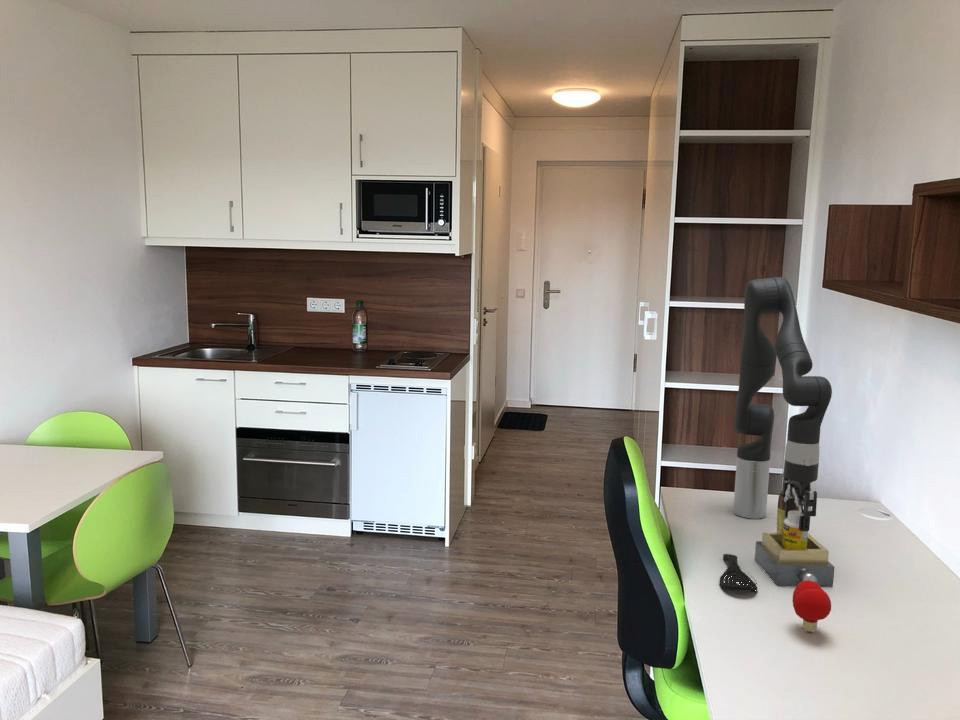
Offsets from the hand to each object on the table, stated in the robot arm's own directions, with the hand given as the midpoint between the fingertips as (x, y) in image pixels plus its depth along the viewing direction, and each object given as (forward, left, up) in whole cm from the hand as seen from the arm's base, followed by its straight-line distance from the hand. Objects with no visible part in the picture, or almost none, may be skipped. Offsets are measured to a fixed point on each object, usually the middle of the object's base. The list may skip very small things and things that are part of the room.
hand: (796, 524), depth 184 cm
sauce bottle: (-18, +6, -13) cm, 23 cm away
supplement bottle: (0, 0, -8) cm, 8 cm away
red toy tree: (+29, -8, -13) cm, 33 cm away
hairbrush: (+2, -15, -13) cm, 20 cm away
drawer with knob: (+2, 0, -12) cm, 12 cm away
